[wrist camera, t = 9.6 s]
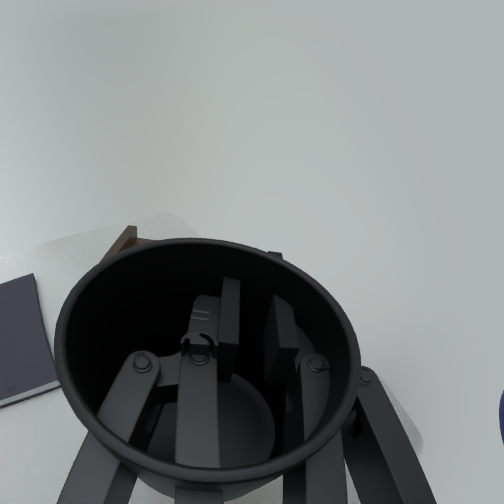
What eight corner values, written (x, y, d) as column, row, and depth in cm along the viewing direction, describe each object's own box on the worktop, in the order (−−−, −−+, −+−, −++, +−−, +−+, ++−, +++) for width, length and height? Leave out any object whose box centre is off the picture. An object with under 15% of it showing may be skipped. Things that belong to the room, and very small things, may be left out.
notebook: (62, 386, 21) (35, 280, 33) (57, 379, 20) (33, 272, 32) (-17, 413, 13) (-23, 300, 25) (-24, 407, 12) (-26, 293, 24)
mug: (305, 362, 18) (360, 254, 13) (254, 527, 8) (341, 527, 3) (182, 316, 19) (190, 199, 15) (84, 446, 9) (-3, 345, 4)
